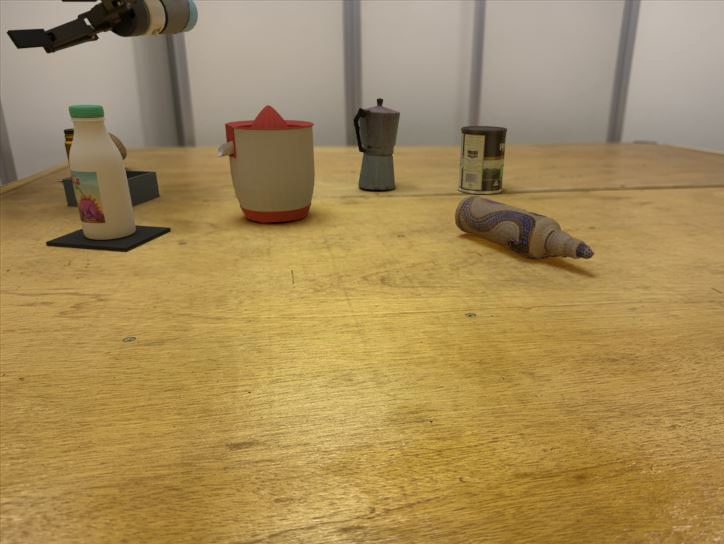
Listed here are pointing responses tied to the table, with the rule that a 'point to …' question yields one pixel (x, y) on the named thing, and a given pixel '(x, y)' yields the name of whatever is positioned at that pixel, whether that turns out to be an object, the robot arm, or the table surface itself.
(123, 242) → the mat
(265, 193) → the citrus juicer
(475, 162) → the coffee can
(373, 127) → the moka pot
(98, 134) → the milk bottle
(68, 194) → the bin
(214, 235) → the table surface
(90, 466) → the table surface
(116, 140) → the brown lumpy rounded lump
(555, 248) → the decorative bottle
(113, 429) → the table surface
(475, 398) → the table surface
